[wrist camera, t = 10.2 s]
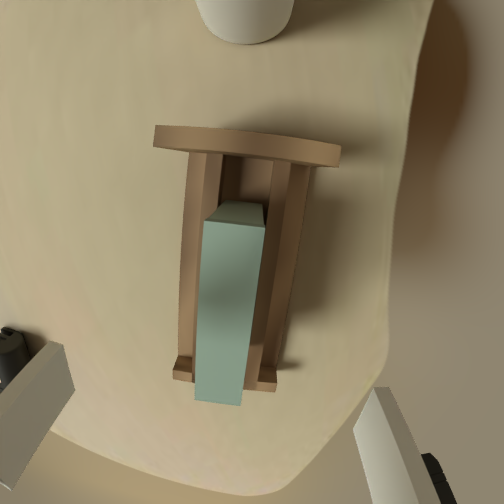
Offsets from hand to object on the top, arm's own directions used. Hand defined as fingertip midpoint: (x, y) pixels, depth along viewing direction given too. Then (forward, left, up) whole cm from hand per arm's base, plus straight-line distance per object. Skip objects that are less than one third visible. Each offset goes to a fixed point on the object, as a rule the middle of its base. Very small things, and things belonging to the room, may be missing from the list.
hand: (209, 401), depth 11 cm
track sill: (0, 0, -17) cm, 17 cm away
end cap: (+18, -29, -18) cm, 39 cm away
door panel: (0, 0, -16) cm, 16 cm away
